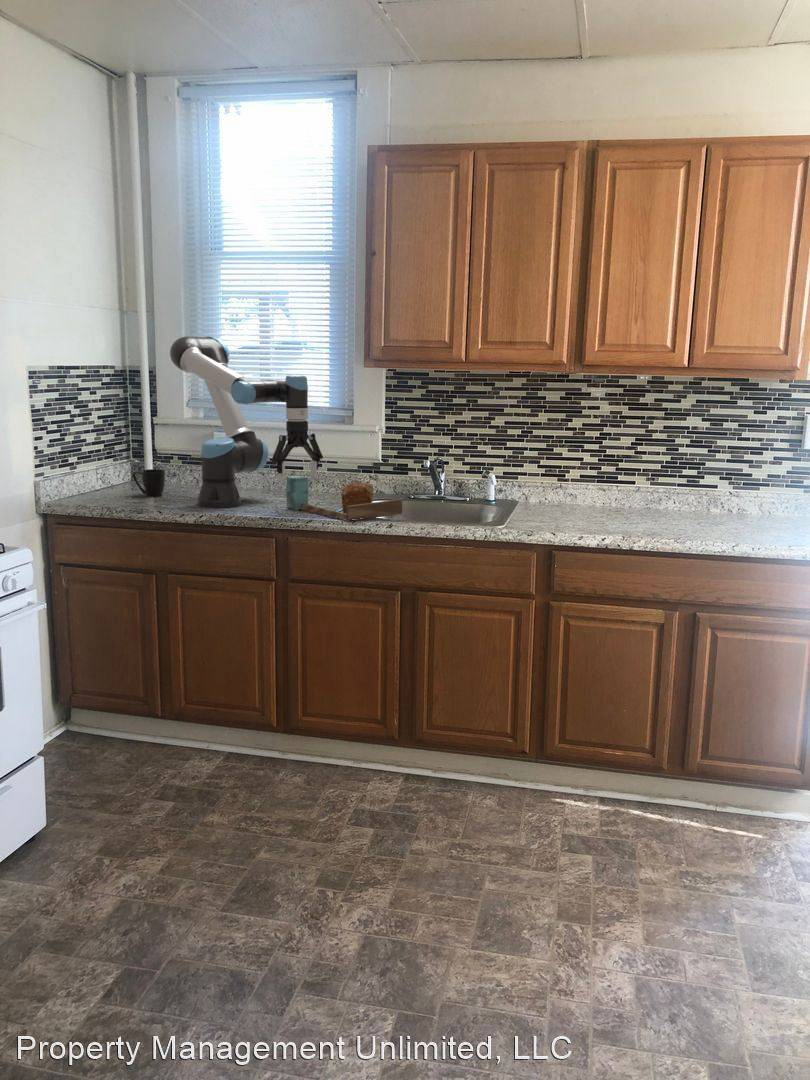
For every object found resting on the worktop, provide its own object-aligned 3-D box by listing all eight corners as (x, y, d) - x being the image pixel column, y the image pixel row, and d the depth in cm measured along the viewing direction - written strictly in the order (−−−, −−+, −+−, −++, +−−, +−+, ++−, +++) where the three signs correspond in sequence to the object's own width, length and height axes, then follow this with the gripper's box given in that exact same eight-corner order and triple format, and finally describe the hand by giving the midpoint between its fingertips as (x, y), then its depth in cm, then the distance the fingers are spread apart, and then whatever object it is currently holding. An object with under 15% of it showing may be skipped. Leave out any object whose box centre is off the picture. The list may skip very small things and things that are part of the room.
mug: (138, 493, 350) (137, 468, 348) (168, 494, 349) (168, 469, 347) (130, 496, 342) (129, 471, 340) (161, 497, 341) (160, 472, 339)
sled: (286, 507, 325) (286, 476, 323) (343, 500, 342) (343, 471, 340) (344, 521, 301) (344, 488, 299) (402, 513, 318) (402, 482, 316)
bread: (371, 516, 315) (371, 487, 313) (340, 515, 315) (340, 486, 313) (373, 506, 333) (374, 479, 331) (344, 506, 333) (344, 478, 331)
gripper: (273, 422, 307) (274, 485, 311) (332, 419, 324) (332, 479, 328) (260, 421, 313) (262, 482, 317) (319, 418, 329) (320, 476, 333)
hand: (298, 480), depth 322 cm, fingers open, 13 cm apart
